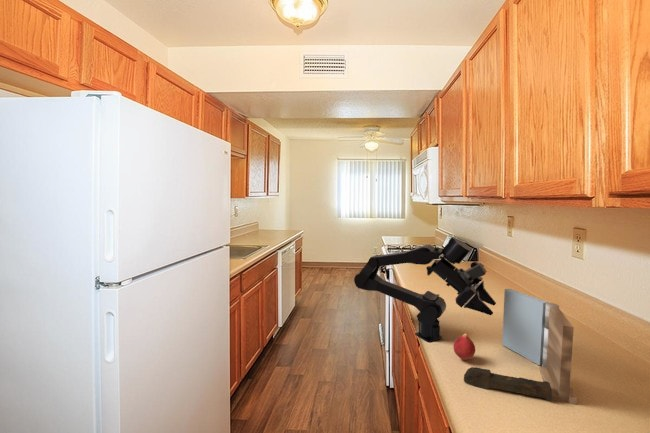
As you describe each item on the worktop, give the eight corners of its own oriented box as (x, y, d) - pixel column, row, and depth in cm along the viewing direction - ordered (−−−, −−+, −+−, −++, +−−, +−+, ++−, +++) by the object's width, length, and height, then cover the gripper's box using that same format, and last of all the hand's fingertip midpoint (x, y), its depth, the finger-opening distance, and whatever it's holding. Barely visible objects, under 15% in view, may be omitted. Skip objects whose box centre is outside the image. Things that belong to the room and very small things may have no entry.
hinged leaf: (549, 372, 90) (553, 307, 88) (500, 344, 105) (503, 289, 103) (558, 370, 90) (561, 306, 89) (508, 343, 106) (510, 288, 104)
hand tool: (548, 394, 81) (549, 376, 81) (552, 404, 77) (553, 385, 77) (463, 377, 88) (464, 361, 88) (464, 386, 84) (464, 368, 84)
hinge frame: (550, 399, 79) (555, 324, 77) (536, 365, 94) (540, 302, 92) (576, 404, 77) (581, 328, 75) (558, 368, 92) (561, 304, 90)
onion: (454, 364, 95) (455, 336, 94) (451, 354, 100) (452, 328, 99) (476, 366, 93) (477, 339, 92) (472, 356, 99) (473, 330, 98)
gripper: (461, 261, 95) (510, 299, 89) (471, 250, 111) (513, 282, 105) (437, 288, 100) (483, 326, 94) (450, 274, 115) (490, 306, 109)
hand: (493, 309), depth 100 cm, fingers open, 9 cm apart
